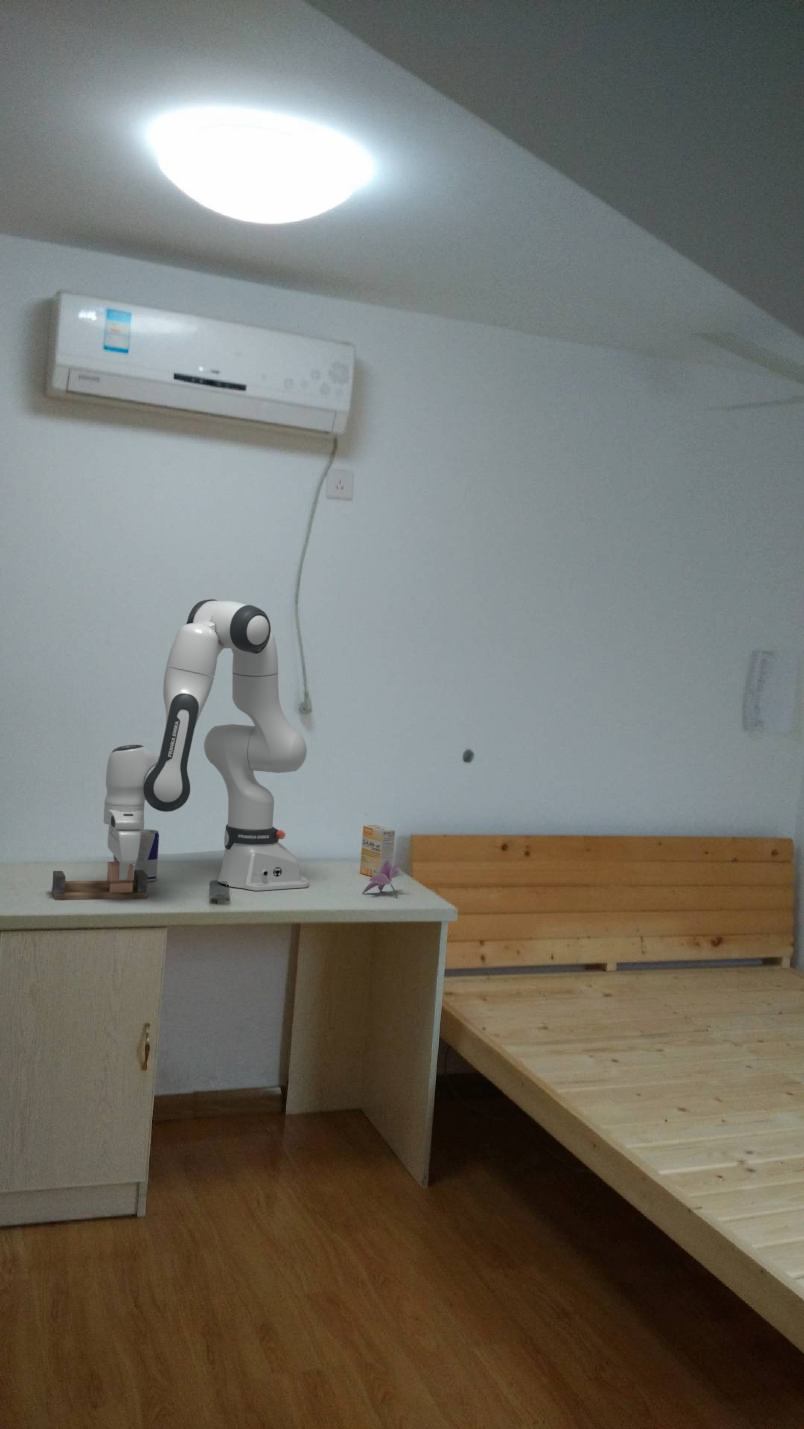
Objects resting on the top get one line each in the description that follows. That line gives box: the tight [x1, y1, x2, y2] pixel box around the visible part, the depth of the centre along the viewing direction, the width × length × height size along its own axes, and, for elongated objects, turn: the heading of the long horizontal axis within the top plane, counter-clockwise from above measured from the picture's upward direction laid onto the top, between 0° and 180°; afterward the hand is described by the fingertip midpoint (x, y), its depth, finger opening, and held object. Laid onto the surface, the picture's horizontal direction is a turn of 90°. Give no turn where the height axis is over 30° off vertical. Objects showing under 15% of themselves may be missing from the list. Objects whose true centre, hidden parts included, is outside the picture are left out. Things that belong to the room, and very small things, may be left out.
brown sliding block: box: [106, 861, 135, 893], centre depth 253 cm, size 5×5×6 cm
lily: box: [361, 859, 404, 899], centre depth 273 cm, size 12×12×10 cm
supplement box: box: [359, 824, 396, 878], centre depth 296 cm, size 8×5×13 cm, turn 42°
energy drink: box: [134, 828, 160, 883], centre depth 270 cm, size 5×5×12 cm
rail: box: [51, 870, 148, 901], centre depth 252 cm, size 20×8×5 cm, turn 113°
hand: (120, 876), depth 253 cm, fingers closed on brown sliding block, 5 cm apart
